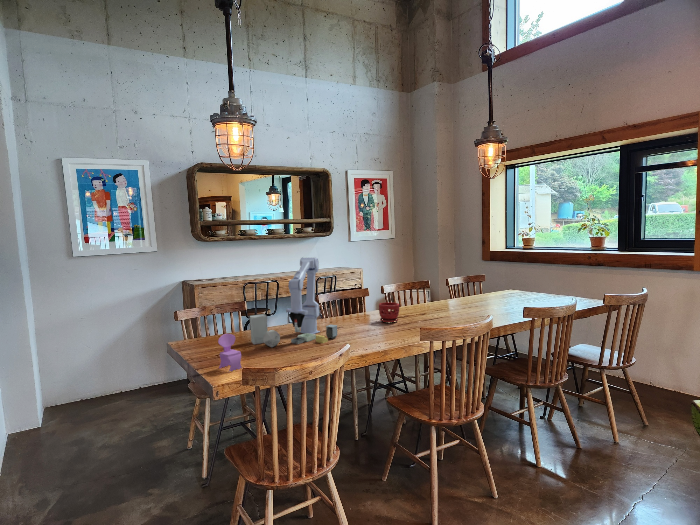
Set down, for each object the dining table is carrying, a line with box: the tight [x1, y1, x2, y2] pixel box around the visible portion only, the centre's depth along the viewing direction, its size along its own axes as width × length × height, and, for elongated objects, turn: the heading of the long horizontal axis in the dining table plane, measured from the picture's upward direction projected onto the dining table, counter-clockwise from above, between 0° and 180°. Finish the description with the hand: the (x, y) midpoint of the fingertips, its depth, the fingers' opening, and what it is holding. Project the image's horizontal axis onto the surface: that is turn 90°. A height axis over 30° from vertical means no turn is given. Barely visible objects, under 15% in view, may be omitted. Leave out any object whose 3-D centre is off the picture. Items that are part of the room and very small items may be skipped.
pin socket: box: [290, 336, 306, 345], centre depth 224 cm, size 5×5×2 cm
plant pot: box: [378, 301, 400, 323], centre depth 268 cm, size 13×13×12 cm
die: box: [263, 329, 281, 348], centre depth 218 cm, size 8×9×10 cm
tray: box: [297, 333, 317, 343], centre depth 229 cm, size 7×7×2 cm
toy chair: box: [217, 333, 243, 372], centre depth 183 cm, size 8×9×15 cm
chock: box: [315, 334, 329, 344], centre depth 224 cm, size 5×4×4 cm
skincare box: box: [249, 313, 269, 345], centre depth 226 cm, size 8×6×15 cm
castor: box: [325, 324, 338, 340], centre depth 231 cm, size 5×6×7 cm
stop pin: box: [294, 319, 301, 333], centre depth 223 cm, size 3×3×6 cm
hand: (297, 326), depth 223 cm, fingers closed on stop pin, 3 cm apart
